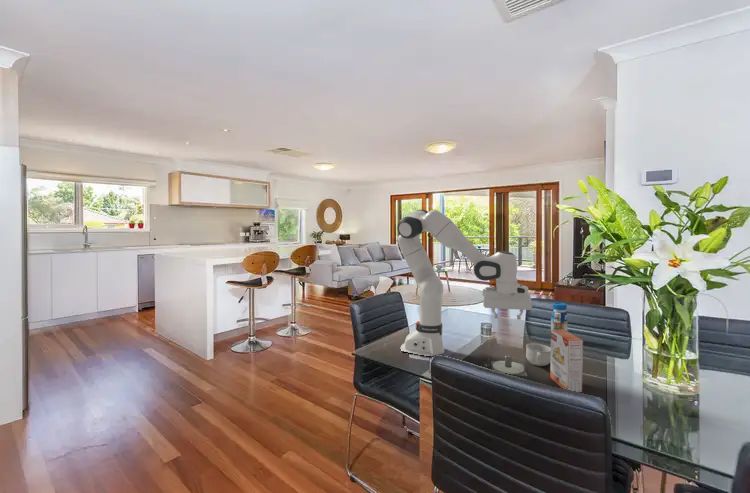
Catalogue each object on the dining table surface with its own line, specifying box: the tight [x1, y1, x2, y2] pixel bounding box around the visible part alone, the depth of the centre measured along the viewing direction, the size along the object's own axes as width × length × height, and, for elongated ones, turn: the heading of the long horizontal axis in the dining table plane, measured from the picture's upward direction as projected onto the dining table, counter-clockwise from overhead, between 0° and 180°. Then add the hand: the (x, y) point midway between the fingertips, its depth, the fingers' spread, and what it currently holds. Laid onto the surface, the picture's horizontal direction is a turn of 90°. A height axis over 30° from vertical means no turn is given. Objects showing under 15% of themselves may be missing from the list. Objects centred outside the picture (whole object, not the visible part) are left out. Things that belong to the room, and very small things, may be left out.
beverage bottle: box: [550, 302, 569, 332], centre depth 194 cm, size 8×8×20 cm
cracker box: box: [549, 329, 584, 393], centre depth 138 cm, size 14×6×21 cm, turn 178°
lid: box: [493, 354, 525, 375], centre depth 156 cm, size 13×13×5 cm
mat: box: [490, 360, 528, 377], centre depth 156 cm, size 14×14×1 cm
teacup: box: [525, 342, 551, 367], centre depth 160 cm, size 14×11×8 cm
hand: (507, 318), depth 156 cm, fingers open, 8 cm apart
